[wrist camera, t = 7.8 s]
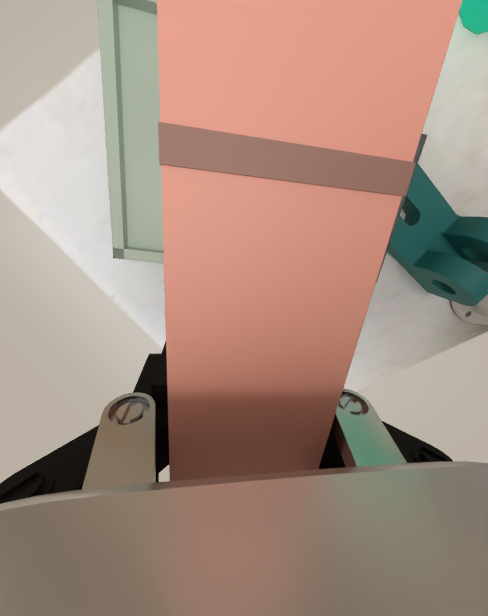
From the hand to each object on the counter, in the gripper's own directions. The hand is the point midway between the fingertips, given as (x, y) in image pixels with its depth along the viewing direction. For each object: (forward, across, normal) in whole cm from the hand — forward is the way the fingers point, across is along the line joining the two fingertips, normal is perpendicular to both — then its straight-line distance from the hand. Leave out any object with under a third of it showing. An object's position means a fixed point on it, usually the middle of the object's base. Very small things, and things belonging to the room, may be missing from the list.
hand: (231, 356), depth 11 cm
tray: (+18, +5, -11) cm, 21 cm away
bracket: (+18, -22, -7) cm, 29 cm away
